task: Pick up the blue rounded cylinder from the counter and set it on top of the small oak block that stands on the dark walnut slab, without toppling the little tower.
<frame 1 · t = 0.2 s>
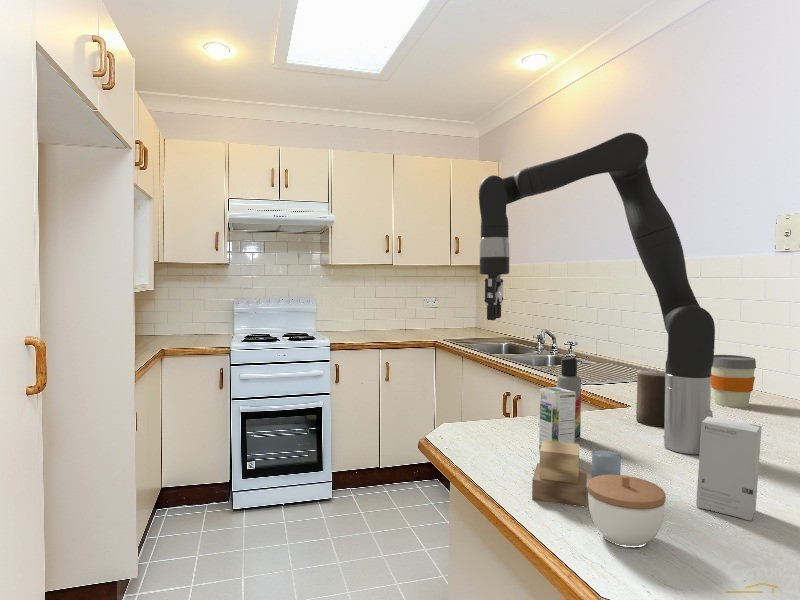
hand: (494, 319, 135), 29 cm above the counter, tool pointing down, fingers open, 8 cm apart
blue rounded cylinder: (605, 480, 102), on the counter
oak block: (559, 474, 95), point 4 cm above the counter, touching walnut slab
skincare box: (727, 510, 89), on the counter
walnut slab: (560, 495, 95), on the counter, touching oak block
reusable coffee cup: (731, 405, 165), on the counter
lotion bottle: (568, 438, 130), on the counter
pillar candle: (655, 423, 144), on the counter
lidded jar: (624, 539, 78), on the counter
syrup box: (556, 454, 117), on the counter
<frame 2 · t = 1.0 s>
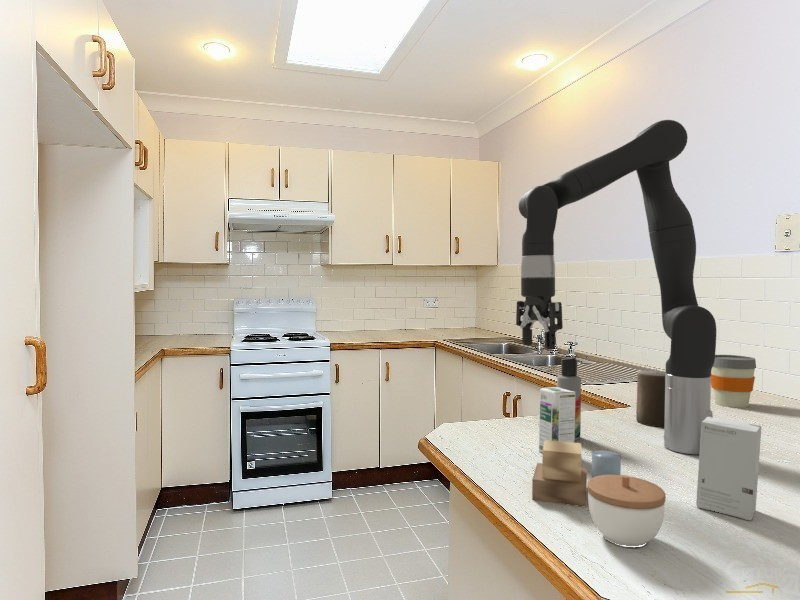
hand: (538, 346, 120), 24 cm above the counter, tool pointing down, fingers open, 8 cm apart
oak block: (561, 474, 95), point 4 cm above the counter
walnut slab: (560, 495, 95), on the counter
everything else where it was.
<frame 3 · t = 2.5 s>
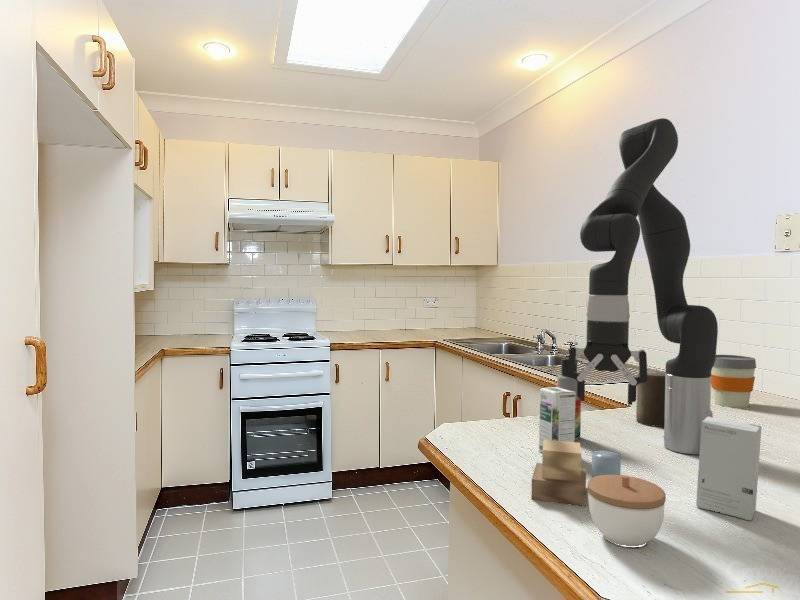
hand: (605, 402, 101), 15 cm above the counter, tool pointing down, fingers open, 8 cm apart
nothing on the counter moved.
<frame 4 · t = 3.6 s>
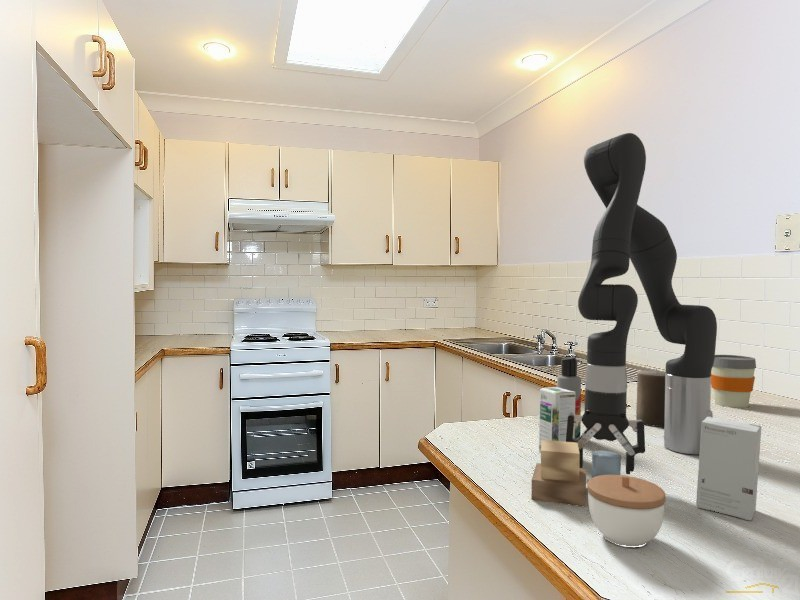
hand: (603, 470, 102), 2 cm above the counter, tool pointing down, fingers open, 8 cm apart
oak block: (559, 473, 95), point 4 cm above the counter, touching walnut slab
walnut slab: (559, 495, 95), on the counter, touching oak block
everything else where it was.
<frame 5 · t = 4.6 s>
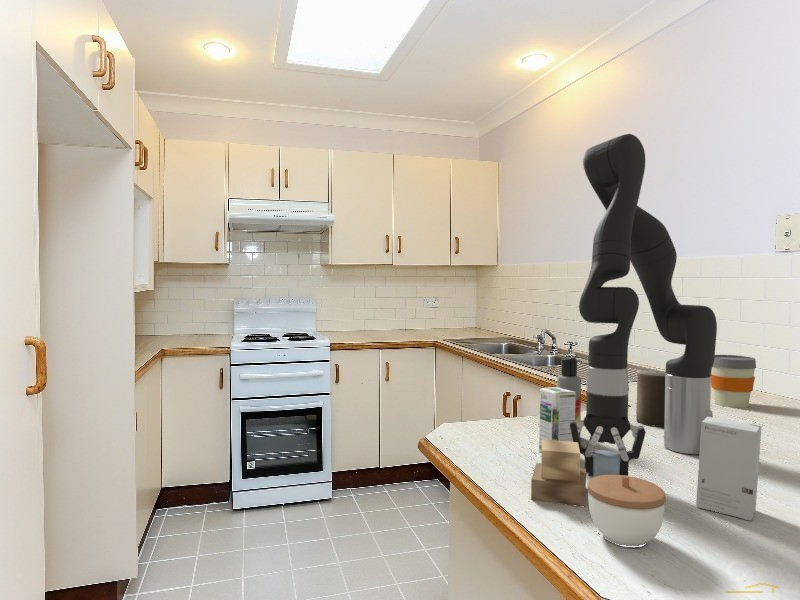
hand: (605, 476, 102), 1 cm above the counter, tool pointing down, fingers closed on blue rounded cylinder, 5 cm apart
blue rounded cylinder: (606, 479, 102), on the counter, touching gripper
everything else where it was.
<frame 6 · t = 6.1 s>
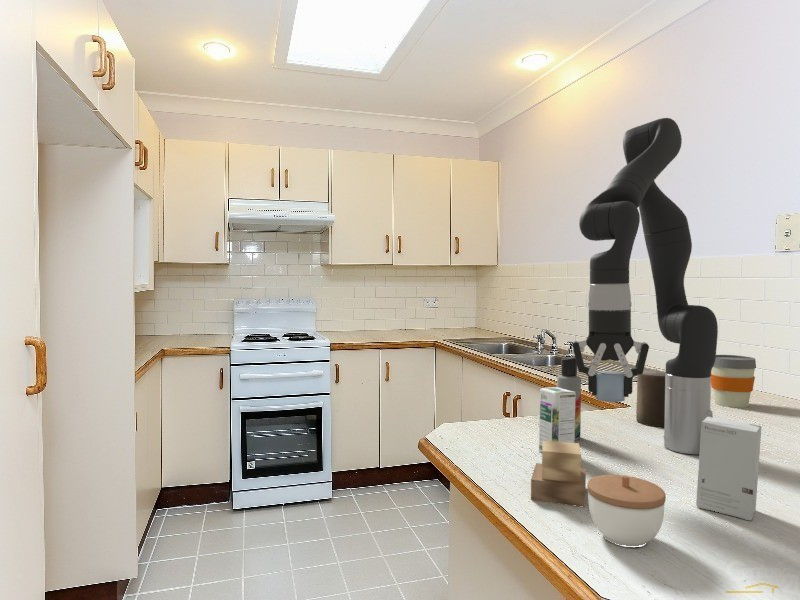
hand: (609, 395, 101), 17 cm above the counter, tool pointing down, fingers closed on blue rounded cylinder, 5 cm apart
blue rounded cylinder: (609, 398, 101), point 16 cm above the counter, touching gripper
oak block: (560, 474, 95), point 4 cm above the counter
walnut slab: (558, 495, 95), on the counter
everything else where it was.
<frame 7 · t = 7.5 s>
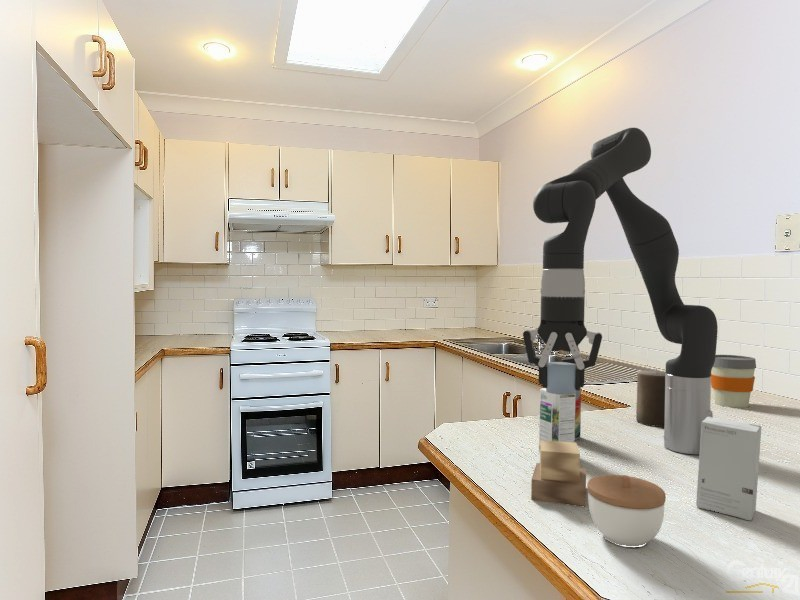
hand: (561, 388, 95), 19 cm above the counter, tool pointing down, fingers closed on blue rounded cylinder, 5 cm apart
blue rounded cylinder: (561, 391, 95), point 19 cm above the counter, touching gripper
oak block: (558, 474, 95), point 4 cm above the counter, touching walnut slab
walnut slab: (559, 495, 95), on the counter, touching oak block
everything else where it was.
when the fingers open (11 cm above the counter, at t = 9.4 s): blue rounded cylinder drops 2 cm, resting on oak block.
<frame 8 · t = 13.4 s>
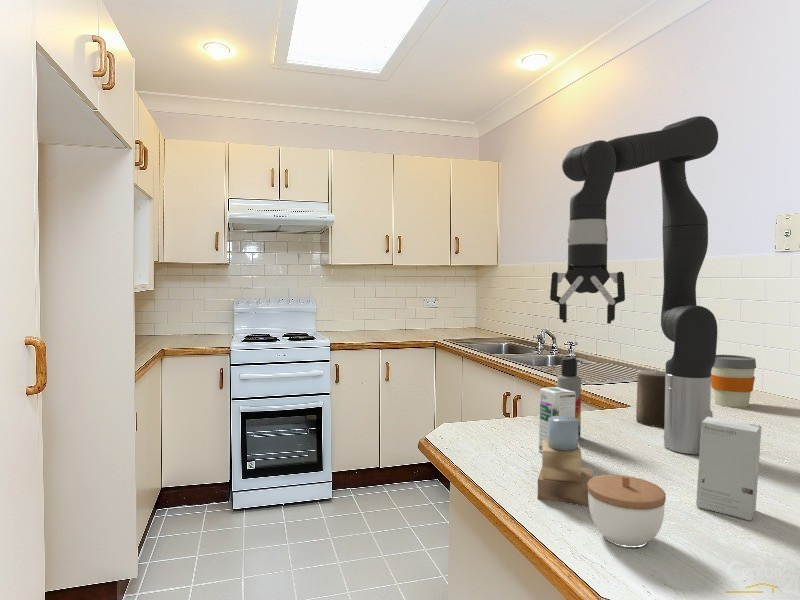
hand: (586, 322, 107), 30 cm above the counter, tool pointing down, fingers open, 8 cm apart
blue rounded cylinder: (563, 446, 95), point 9 cm above the counter, touching oak block
oak block: (560, 473, 95), point 4 cm above the counter, touching blue rounded cylinder, walnut slab
walnut slab: (565, 495, 95), on the counter, touching oak block
everything else where it was.
at the end: blue rounded cylinder 0.3 cm off-centre on the oak block, point 5.0 cm above the oak block's base; oak block 1.0 cm off-centre on the walnut slab, point 4.0 cm above the walnut slab's base; blue rounded cylinder tilted 1° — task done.
